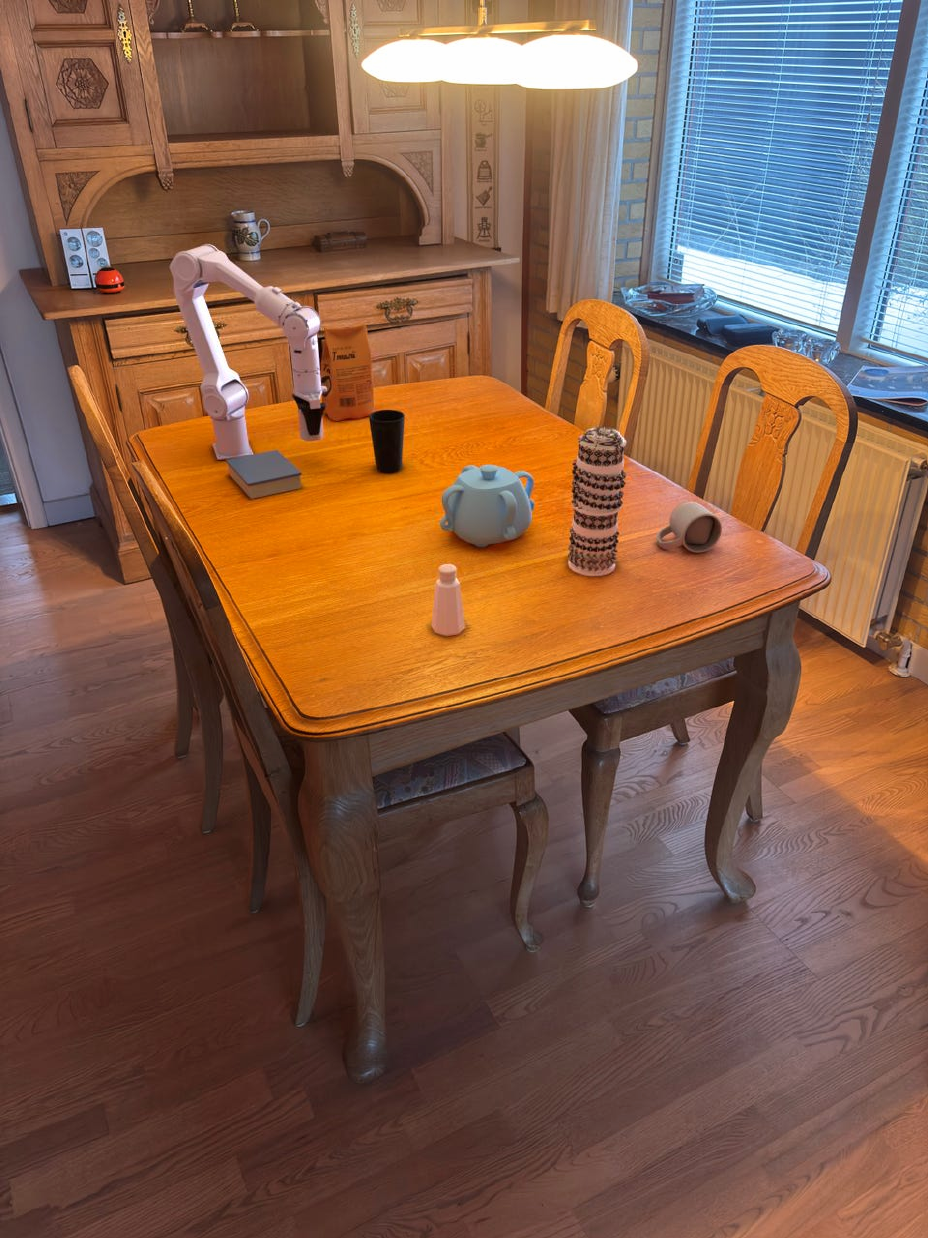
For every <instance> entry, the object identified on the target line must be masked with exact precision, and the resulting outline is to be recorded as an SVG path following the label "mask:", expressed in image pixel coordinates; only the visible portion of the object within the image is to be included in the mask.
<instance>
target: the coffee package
mask: <svg viewBox="0 0 928 1238" xmlns="http://www.w3.org/2000/svg"><path fill="white" fill-rule="evenodd" d="M323 330H324V331H323V332H324V338H325V339H323V349H322V352H321V361H320V379H321V386H326V388H327V391H326V392H322V394H321V403H325V404H326V409H325V410H324V413H325V415H327V417H328V419H330V420H332V421H334V422H339V421H343V420H347V419H353V420H358V419H363V418H366V417H369V415H370V414H371V413H373V412H376V410H375V389H374V376H373V374H374V373H373V358H372V350H371V347H370V342H369V339H368V337H369V335H368V334H369V333H368V328H367V325H366V323H365V322H360V323H357V324H355V325H352V326H348V327H332V326H330V327H327V326H324V327H323Z"/></svg>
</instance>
